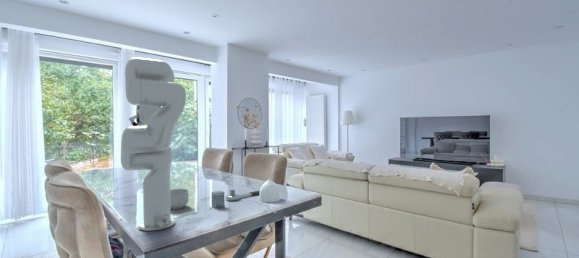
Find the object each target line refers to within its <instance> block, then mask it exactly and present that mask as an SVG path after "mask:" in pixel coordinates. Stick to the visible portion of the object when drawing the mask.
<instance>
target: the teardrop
mask: <svg viewBox="0 0 579 258" xmlns="http://www.w3.org/2000/svg"><path fill="white" fill-rule="evenodd" d="M259 190H260V193H259V195H258V196H259V197H258V200H259V201H260V202H263V203H275V202H278V201H280V200H281V194H280V193H281V192H280V191H281V190H280V188H279V186H278V184H277V183H275V182H274V181H273V180H272V179H271V177H270V176H269V177H268V179H267V180H266V181H265V182H264V183H262V185H261V187H260V189H259Z"/></svg>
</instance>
